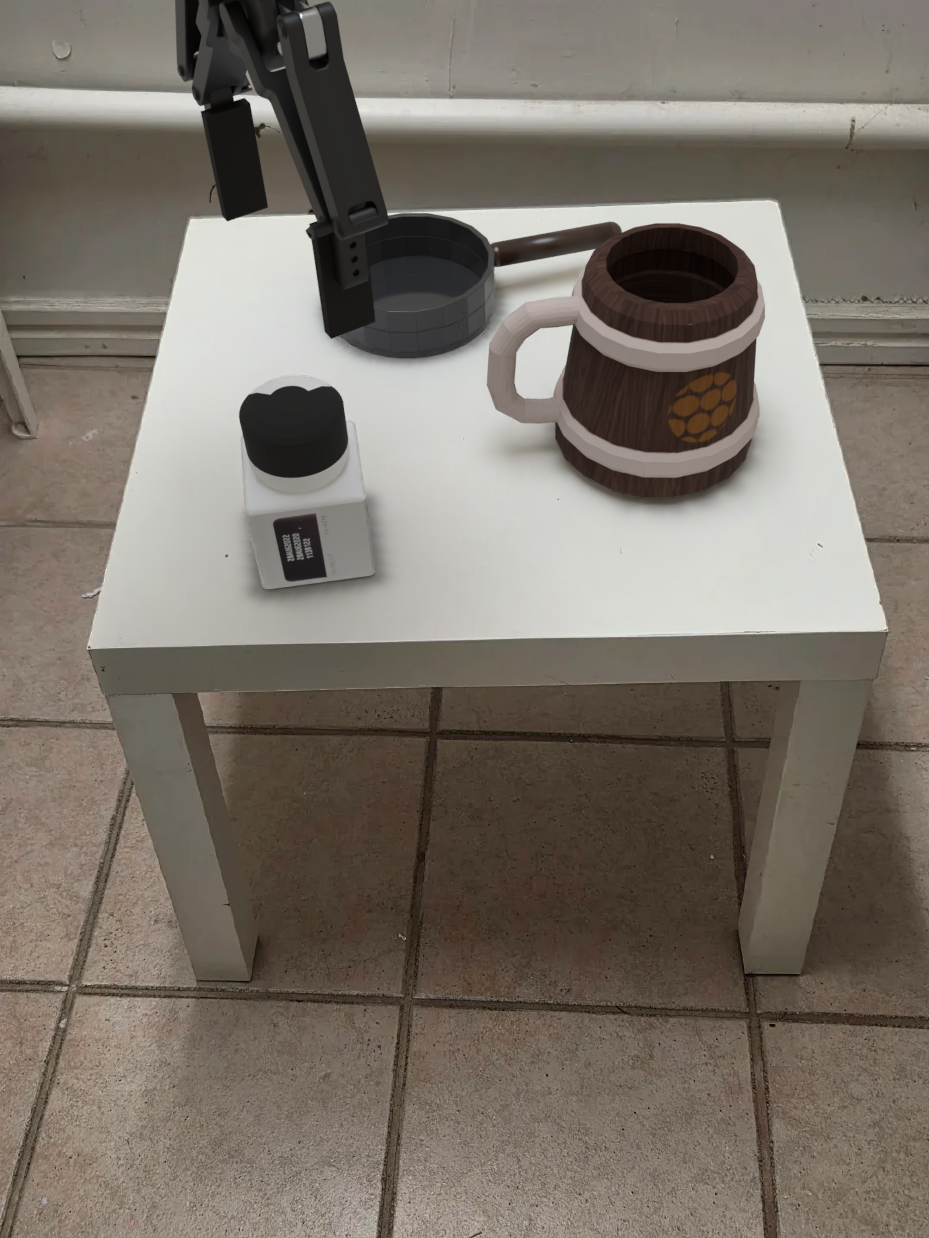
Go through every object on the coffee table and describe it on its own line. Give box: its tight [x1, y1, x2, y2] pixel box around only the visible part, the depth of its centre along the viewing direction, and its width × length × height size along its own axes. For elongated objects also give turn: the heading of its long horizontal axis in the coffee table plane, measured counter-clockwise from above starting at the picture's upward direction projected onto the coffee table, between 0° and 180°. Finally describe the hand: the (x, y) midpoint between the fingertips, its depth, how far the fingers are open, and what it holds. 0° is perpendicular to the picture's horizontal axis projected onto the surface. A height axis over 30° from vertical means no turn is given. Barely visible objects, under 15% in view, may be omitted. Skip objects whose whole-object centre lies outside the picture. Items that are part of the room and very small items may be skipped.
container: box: [238, 374, 376, 590], centre depth 79 cm, size 8×8×13 cm
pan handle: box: [490, 221, 623, 268], centre depth 100 cm, size 12×2×2 cm, turn 105°
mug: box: [486, 222, 766, 499], centre depth 84 cm, size 20×15×15 cm
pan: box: [340, 212, 496, 359], centre depth 99 cm, size 14×14×4 cm
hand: (294, 266), depth 68 cm, fingers open, 13 cm apart
